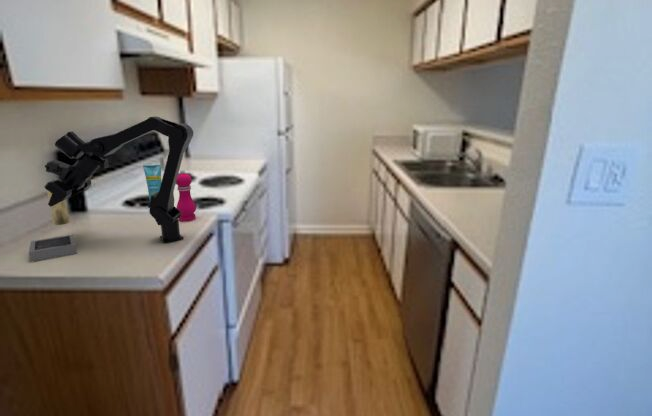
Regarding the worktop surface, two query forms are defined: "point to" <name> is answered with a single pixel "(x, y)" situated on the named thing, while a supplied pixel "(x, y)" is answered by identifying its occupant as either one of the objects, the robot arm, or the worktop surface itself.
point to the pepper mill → (185, 197)
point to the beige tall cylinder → (59, 212)
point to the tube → (153, 178)
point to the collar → (52, 247)
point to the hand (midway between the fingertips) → (53, 203)
